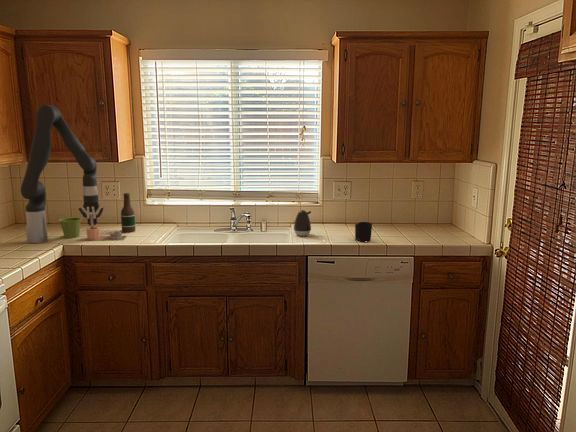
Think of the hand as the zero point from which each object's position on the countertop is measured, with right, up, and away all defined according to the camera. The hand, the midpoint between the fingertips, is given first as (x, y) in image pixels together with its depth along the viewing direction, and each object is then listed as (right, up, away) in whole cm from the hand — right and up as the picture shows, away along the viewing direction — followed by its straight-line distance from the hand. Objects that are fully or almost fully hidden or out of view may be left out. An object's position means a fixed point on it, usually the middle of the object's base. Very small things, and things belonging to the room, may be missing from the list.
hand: (92, 224), depth 254 cm
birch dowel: (0, -4, +1) cm, 4 cm away
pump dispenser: (+117, -7, +18) cm, 119 cm away
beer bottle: (+13, -6, +20) cm, 25 cm away
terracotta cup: (0, -8, +1) cm, 8 cm away
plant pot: (-14, -8, +6) cm, 17 cm away
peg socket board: (+6, -9, +3) cm, 11 cm away
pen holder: (+151, -9, +7) cm, 152 cm away
